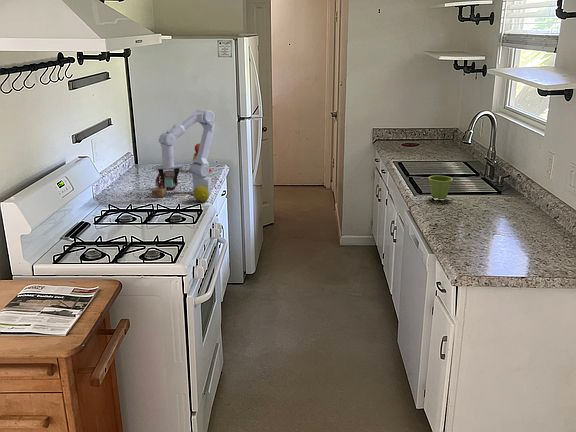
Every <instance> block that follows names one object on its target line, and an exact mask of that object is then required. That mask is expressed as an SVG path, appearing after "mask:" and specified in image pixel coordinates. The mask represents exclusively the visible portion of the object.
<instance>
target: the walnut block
mask: <svg viewBox="0 0 576 432" xmlns="http://www.w3.org/2000/svg"><path fill="white" fill-rule="evenodd" d="M167 189H168V187H166V188H159V187H154V188H153V189H151V198H155V199H157V198H159V199H163V198H165V197H166V196H168V190H167Z"/></svg>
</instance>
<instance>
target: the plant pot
mask: <svg viewBox="0 0 576 432" xmlns="http://www.w3.org/2000/svg"><path fill="white" fill-rule="evenodd" d="M428 180H429V185H430V193H431V195H430V196H432V197H433V198H438V199H445V198H446V199H448V193H449V190H450V186H451V184H452V181H453V177H451V176H446V175H431V176H428Z"/></svg>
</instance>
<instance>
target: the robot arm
mask: <svg viewBox="0 0 576 432" xmlns="http://www.w3.org/2000/svg"><path fill="white" fill-rule="evenodd" d="M215 119H216V116H215V113H214V112H213V111H212V110H210V109H209V110H208V109H207V110H206V109H201V108H198V109H196V110H195V111H193V112H192V114H191V115H190V116H188V117H187V118H186V119H185V120H184V121H182V123H180V124H178V123H177V124H174V125H173V126H172V127H171V128H170V129H169V130H166V132H163V133H161V134H160V135H159V138H158V143H160V146H161V159H162V165H154V166H153V170H154V172H155V171H157V172H158V174H160V177H161V178H162V181H163V184H165V182H164V173H163V171H171V170H173V171H174V173H175V184H176V181H177V180H178V178H179V177H178V176H179V173H180V171H181V170H184V164H175V155H174V154H175V153H174V144H175V143H176V140H177V139H179V138H180V137H181V136H183V135H184V134H185V130H187V129H189V128H190V127H191V126H193V125H195V124H196V123H199V124H200V126H202V128H203V130H202V135H201V139H200V146H199V150H198V154H197V158H196V159H194V160H193V159H192V164H191V165H190V167H189V172H190V174H191V175H192V184H193V186H192V187H193V191H192V192H191V193H190V195H194V190H195V188H196V187H198V186H204V187H206V188H207V189H208V191H209V195H210V194H211V193H212V192H213V188H212V187H213V186H212V177H210V176H208V175H209V173H210V172H209V168H210V163H209V160H208V161H207V158H208V157H209V153H210V149H211V145H212V141H213V137H214V133H215V130H216V129H215V128H216V126H215Z"/></svg>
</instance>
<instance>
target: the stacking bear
mask: <svg viewBox="0 0 576 432" xmlns="http://www.w3.org/2000/svg"><path fill="white" fill-rule="evenodd" d="M199 146H200V143H196V144H195V145H194V151H195V152H194V154H193V157H192V161H193V160H194V159H196V158H197V154H198V150H199ZM207 161H208V162H209V159H208V158H207ZM212 170H213V169H212V168H210V167H209V173H211V171H212Z"/></svg>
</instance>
